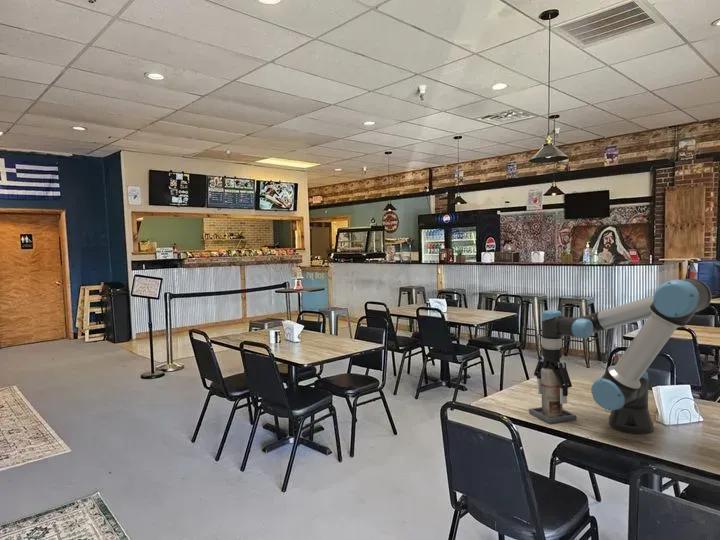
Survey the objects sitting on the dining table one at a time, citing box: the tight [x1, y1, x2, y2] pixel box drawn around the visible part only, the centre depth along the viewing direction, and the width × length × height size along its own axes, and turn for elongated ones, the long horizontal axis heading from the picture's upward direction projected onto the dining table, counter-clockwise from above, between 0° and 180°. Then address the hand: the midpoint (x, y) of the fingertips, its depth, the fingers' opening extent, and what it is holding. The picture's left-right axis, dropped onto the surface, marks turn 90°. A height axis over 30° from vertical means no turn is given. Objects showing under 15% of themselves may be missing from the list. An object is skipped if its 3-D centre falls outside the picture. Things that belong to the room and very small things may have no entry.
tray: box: [528, 406, 577, 425], centre depth 193 cm, size 13×13×2 cm
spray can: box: [540, 368, 564, 418], centre depth 193 cm, size 8×8×20 cm
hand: (552, 398), depth 193 cm, fingers open, 13 cm apart
